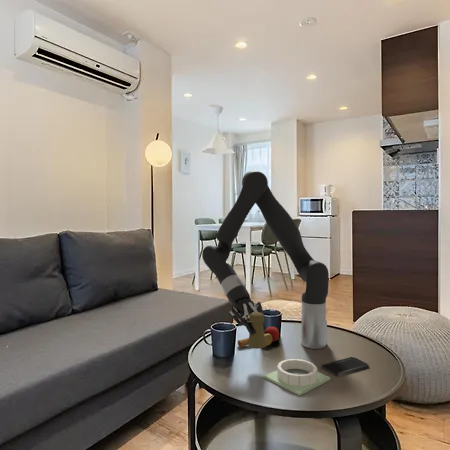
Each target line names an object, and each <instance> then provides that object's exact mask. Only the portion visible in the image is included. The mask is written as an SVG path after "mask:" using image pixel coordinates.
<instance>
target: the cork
mask: <svg viewBox="0 0 450 450" xmlns="http://www.w3.org/2000/svg"><path fill="white" fill-rule="evenodd" d="M249 320H250V323H251V324H252V326H253V328H254V329H255V331H256V333H255V334H254V335H251V334H250V333H249V336H248V338H249V342H248V345H247V346H248V347H249V348H251V349H257V350H259V349H260V350H261V349H264V348H265V347H267V346H266V342H265V335H264V332H265V331H264V328H263V323H264V322H265V314H264V315H263V314H262V313H260V312H253V313H251V314H250V316H249Z"/></svg>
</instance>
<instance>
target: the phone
mask: <svg viewBox="0 0 450 450" xmlns="http://www.w3.org/2000/svg"><path fill="white" fill-rule="evenodd" d="M369 367H370V364H369V363H367V362H365V361H363V360H360V359H358V358H357V357H354V356H350V357H346V358H342V359H338V360H334V361H330V362H327V363H323V364H321V369H322V370H324V371H326V372H328V373H329V374H331V375H333V376H335V377H342V376H345V375H347V374H351V373H355V372H359V371H363V370H366V369H369Z"/></svg>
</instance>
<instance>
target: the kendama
mask: <svg viewBox="0 0 450 450" xmlns="http://www.w3.org/2000/svg"><path fill="white" fill-rule="evenodd" d="M279 331H280V330H279V329H278V328H277V327H276V326H268V327H266V330H265V331H264V335H265V342H266V346H265V347H267V346H270V345H271V344H272V343H273V342H276V341H278V340H279V338H280V332H279ZM248 342H249V337H247V338H243V339H238V340H237V345H238V348H240V349H243V348H244V347H247V346H248Z"/></svg>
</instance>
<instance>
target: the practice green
mask: <svg viewBox="0 0 450 450" xmlns="http://www.w3.org/2000/svg"><path fill="white" fill-rule="evenodd" d="M276 368H277V370H274V371H272V372H269V373H267V374H265V375H264V377H263V378H264V379H265V380H268V381H269V382H272V383H273V384H276V385H278V386H279V387H282V388H283V389H285V390H287V391H289V392H291V393H292V394H295V395H297V396H302V395H304V394H306V393H307V392H309V391H311V390H314V389H315V388H317V387H319V386H321V385H323V384H325V383H326V382H328V381H331V376H328V375H327V374H323V373H321V372H318V367H317V365H315V364H314V363H313V362H311V361H308V360H305V359H301V358H299V359H298V358H290V359H284V360H282V361H279V362H278V364H277V366H276Z"/></svg>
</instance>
